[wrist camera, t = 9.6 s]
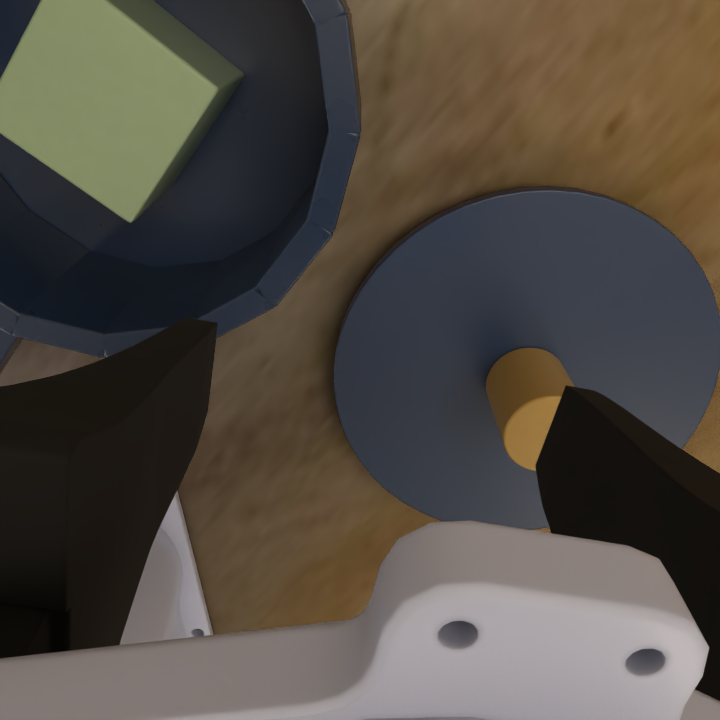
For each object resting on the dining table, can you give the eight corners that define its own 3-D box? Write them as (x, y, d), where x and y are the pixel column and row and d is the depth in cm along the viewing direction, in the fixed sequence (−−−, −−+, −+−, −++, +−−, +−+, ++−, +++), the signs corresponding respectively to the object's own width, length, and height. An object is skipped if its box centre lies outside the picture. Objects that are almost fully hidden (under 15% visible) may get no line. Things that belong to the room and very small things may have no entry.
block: (246, 74, 19) (219, 88, 16) (170, 188, 21) (130, 225, 17) (118, -29, 18) (58, -39, 14) (47, 99, 19) (-23, 119, 16)
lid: (785, 339, 23) (869, 404, 19) (521, 562, 28) (547, 652, 24) (514, 90, 20) (550, 110, 16) (262, 392, 24) (242, 465, 20)
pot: (512, -41, 18) (566, -59, 13) (170, 402, 24) (124, 499, 20) (116, -432, 15) (-2, -642, 10) (-163, 194, 21) (-319, 248, 16)
